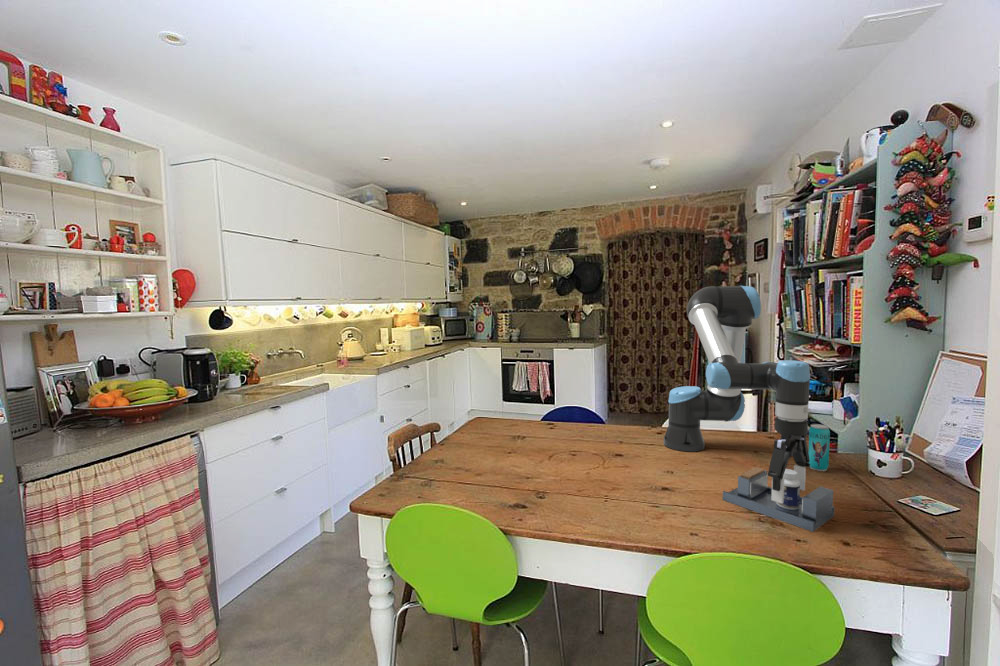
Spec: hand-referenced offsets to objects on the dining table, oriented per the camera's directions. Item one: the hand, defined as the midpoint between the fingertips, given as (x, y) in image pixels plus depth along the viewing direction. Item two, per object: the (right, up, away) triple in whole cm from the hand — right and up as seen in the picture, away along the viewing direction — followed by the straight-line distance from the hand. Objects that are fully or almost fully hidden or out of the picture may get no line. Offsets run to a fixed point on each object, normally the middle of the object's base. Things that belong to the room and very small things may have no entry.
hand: (788, 495), depth 125 cm
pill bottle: (0, -3, 0) cm, 3 cm away
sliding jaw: (-5, -2, +8) cm, 10 cm away
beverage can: (+30, -2, +31) cm, 43 cm away
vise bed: (-2, -4, +3) cm, 6 cm away
